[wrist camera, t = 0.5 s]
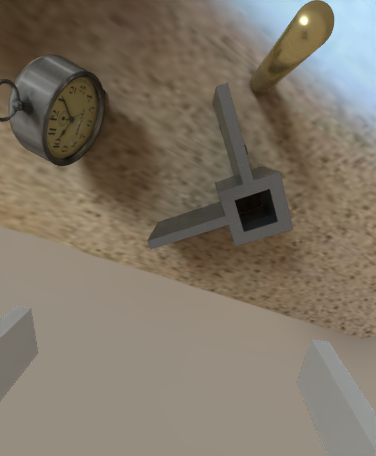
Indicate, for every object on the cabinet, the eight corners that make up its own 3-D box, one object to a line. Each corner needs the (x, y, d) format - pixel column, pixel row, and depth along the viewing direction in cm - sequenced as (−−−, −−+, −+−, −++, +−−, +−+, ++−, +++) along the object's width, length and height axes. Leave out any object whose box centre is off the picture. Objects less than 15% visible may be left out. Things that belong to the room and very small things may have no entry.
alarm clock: (90, 164, 35) (5, 177, 20) (56, 146, 35) (-59, 145, 19) (118, 90, 32) (40, 36, 16) (80, 69, 31) (-36, -7, 16)
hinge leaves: (123, 137, 34) (100, 135, 26) (243, 89, 31) (256, 70, 23) (167, 245, 39) (159, 269, 31) (273, 212, 36) (293, 229, 28)
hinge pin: (247, 75, 30) (288, 11, 16) (269, 66, 30) (330, -8, 16) (253, 97, 31) (296, 56, 17) (274, 89, 31) (337, 39, 17)
